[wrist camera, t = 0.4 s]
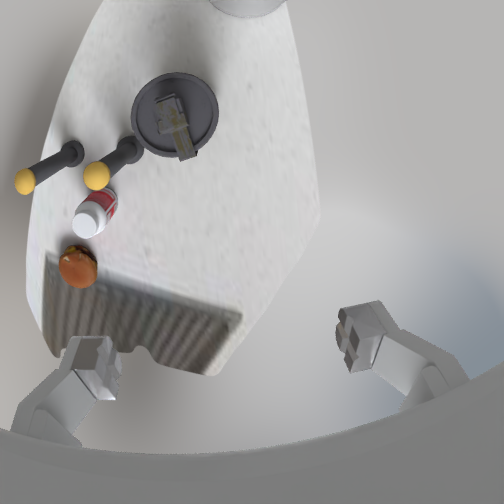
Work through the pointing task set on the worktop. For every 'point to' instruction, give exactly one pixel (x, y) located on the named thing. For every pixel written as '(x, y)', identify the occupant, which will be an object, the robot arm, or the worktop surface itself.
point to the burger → (78, 267)
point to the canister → (175, 115)
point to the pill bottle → (94, 213)
